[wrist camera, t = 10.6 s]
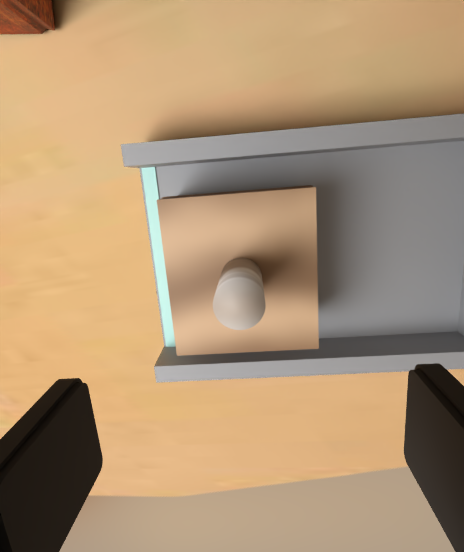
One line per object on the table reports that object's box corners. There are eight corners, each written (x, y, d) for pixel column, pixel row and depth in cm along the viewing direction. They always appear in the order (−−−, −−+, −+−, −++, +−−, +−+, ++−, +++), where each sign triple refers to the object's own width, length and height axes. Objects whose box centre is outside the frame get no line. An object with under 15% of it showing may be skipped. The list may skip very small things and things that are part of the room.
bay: (140, 150, 32) (115, 143, 26) (489, 119, 30) (547, 104, 24) (168, 356, 37) (153, 388, 31) (467, 341, 35) (510, 373, 29)
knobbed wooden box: (175, 194, 31) (125, 203, 19) (302, 184, 31) (339, 186, 18) (190, 322, 34) (156, 403, 22) (305, 316, 34) (339, 395, 21)
